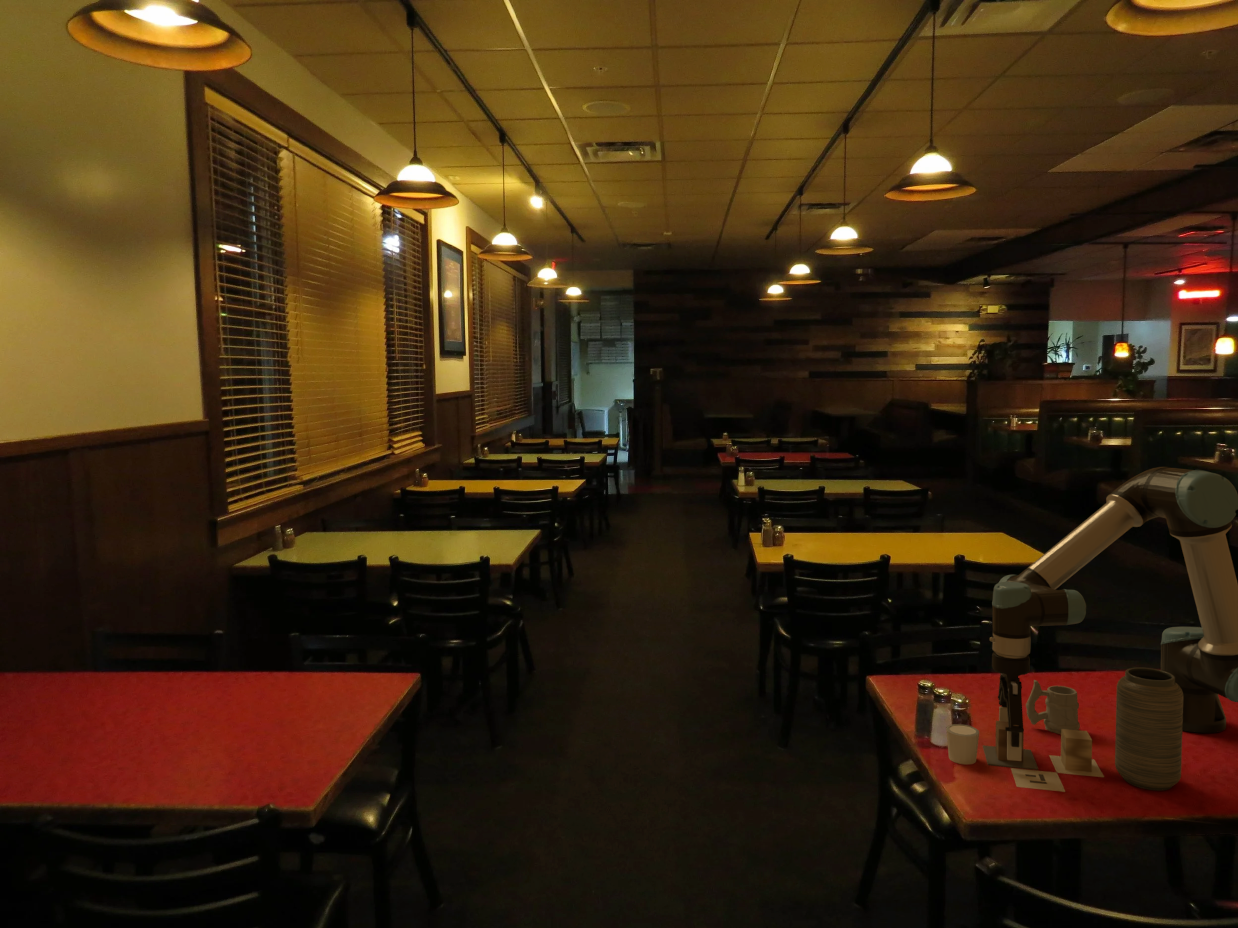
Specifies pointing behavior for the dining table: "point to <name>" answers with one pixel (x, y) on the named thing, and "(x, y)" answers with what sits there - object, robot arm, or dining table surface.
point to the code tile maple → (1060, 769)
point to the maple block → (1076, 750)
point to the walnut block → (1004, 741)
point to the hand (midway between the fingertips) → (1009, 747)
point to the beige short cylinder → (962, 743)
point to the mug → (1055, 708)
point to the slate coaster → (1026, 764)
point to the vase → (1149, 729)
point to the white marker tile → (1037, 779)
